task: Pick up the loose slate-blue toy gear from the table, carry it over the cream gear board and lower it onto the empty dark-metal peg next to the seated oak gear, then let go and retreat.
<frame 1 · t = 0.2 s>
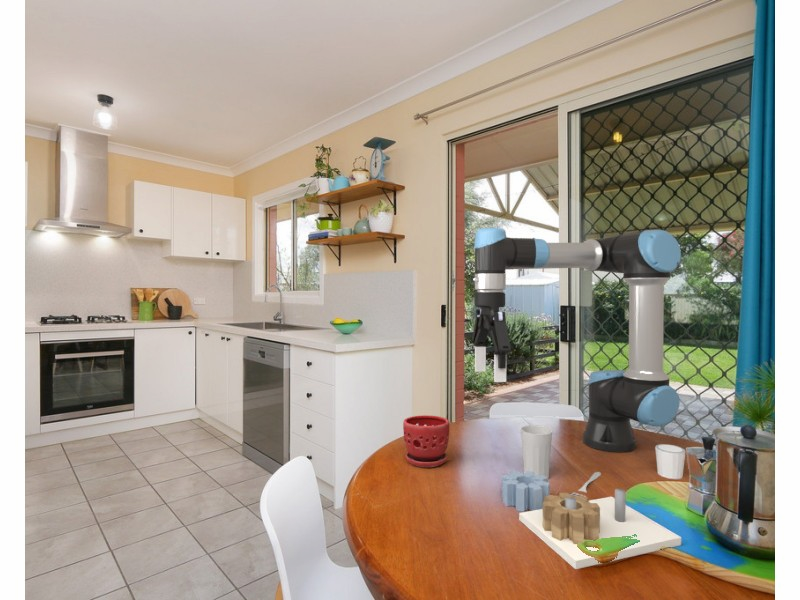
hand: (489, 376, 115), 27 cm above the table, fingers open, 13 cm apart
cup: (536, 475, 121), on the table
gear board: (595, 531, 93), on the table
plant pot: (426, 462, 131), on the table
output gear: (570, 529, 91), resting on gear board
short white tumbler: (670, 475, 120), on the table
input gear: (525, 501, 106), on the table
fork: (588, 486, 115), on the table
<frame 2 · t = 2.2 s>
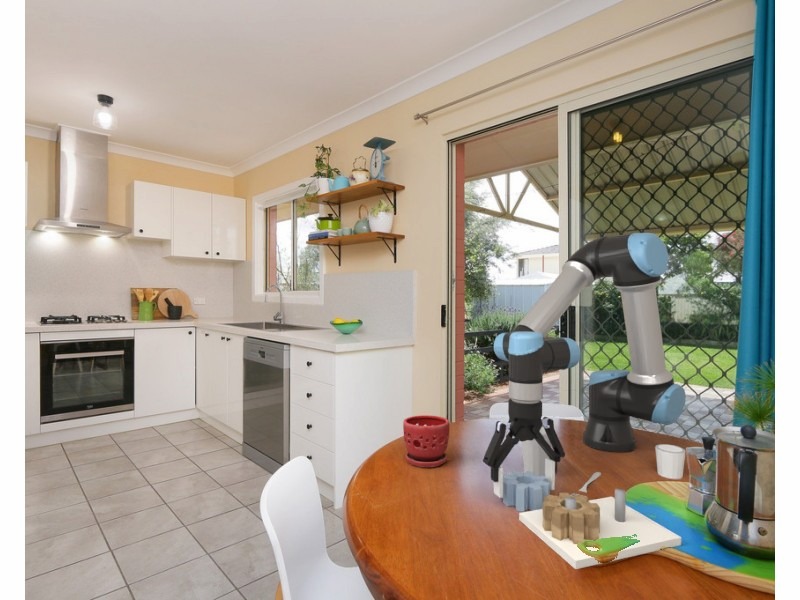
hand: (524, 491, 106), 2 cm above the table, fingers open, 13 cm apart
nothing on the table moved.
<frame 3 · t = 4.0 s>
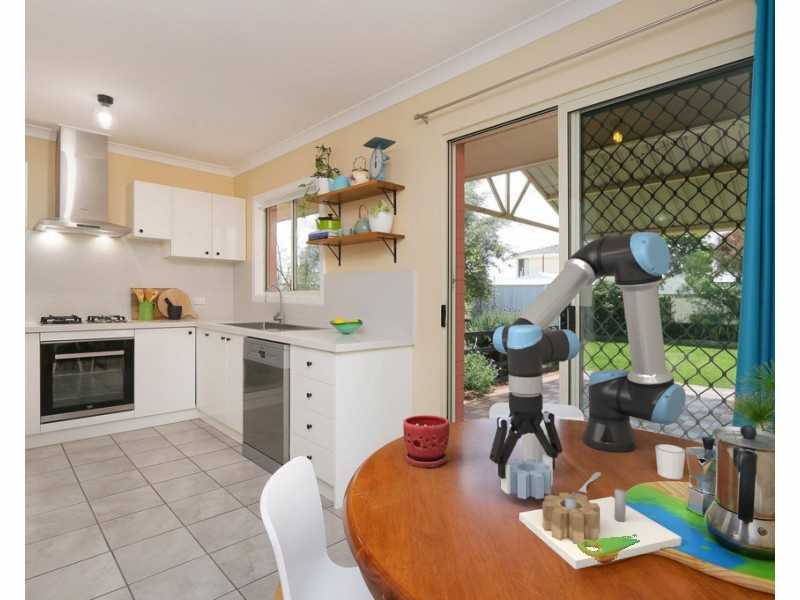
hand: (527, 487, 106), 3 cm above the table, fingers closed on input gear, 10 cm apart
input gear: (527, 488, 106), point 3 cm above the table, touching gripper
everything else where it was.
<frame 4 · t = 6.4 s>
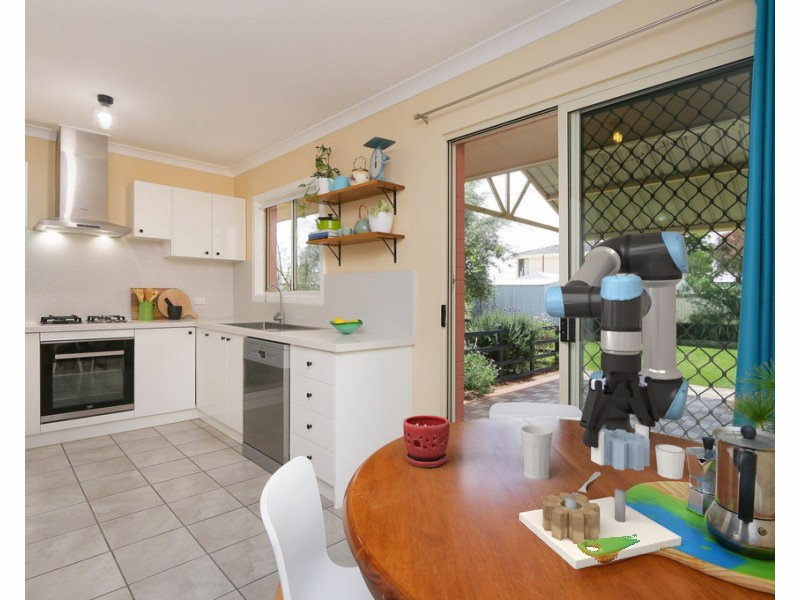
hand: (620, 459, 94), 14 cm above the table, fingers closed on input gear, 10 cm apart
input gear: (619, 460, 94), point 14 cm above the table, touching gripper
everything else where it was.
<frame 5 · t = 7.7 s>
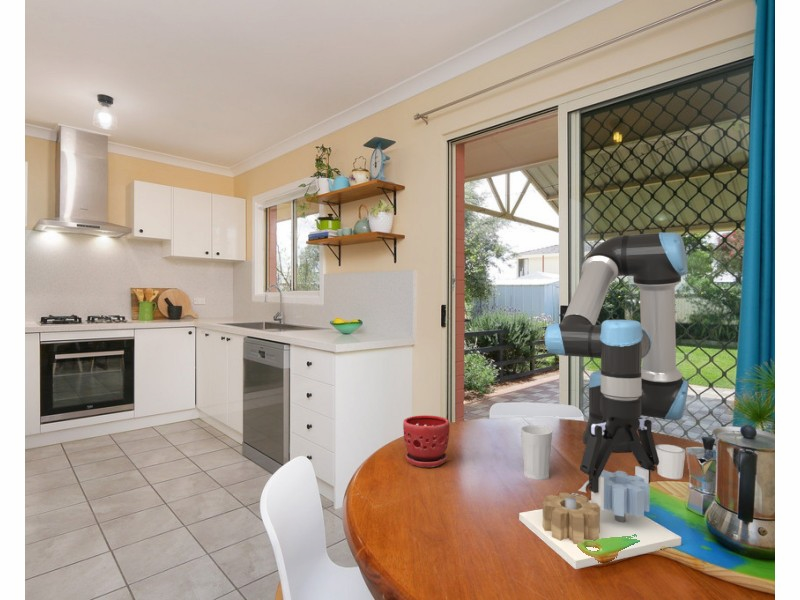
hand: (619, 503, 94), 5 cm above the table, fingers closed on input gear, 10 cm apart
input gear: (619, 504, 94), point 5 cm above the table, touching gripper
everything else where it was.
when the fingers open (2 cm above the table, at t = 8.8 s): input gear stays where it is, resting on gear board.
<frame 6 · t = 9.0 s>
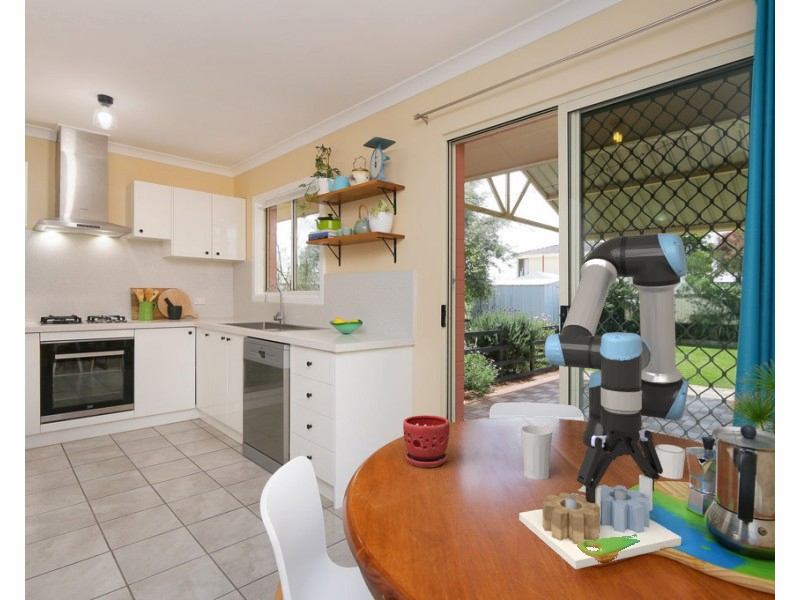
hand: (620, 512, 94), 3 cm above the table, fingers open, 12 cm apart
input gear: (620, 519, 94), point 1 cm above the table, touching gear board
everything else where it was.
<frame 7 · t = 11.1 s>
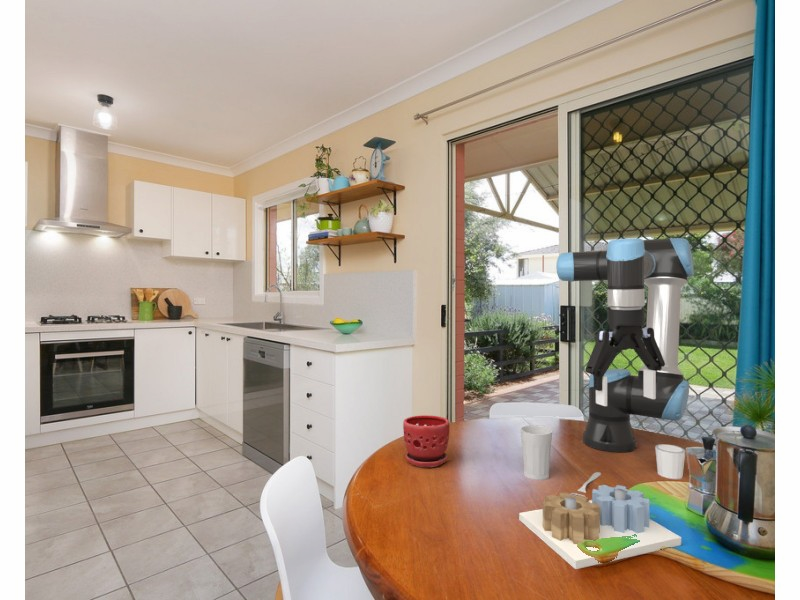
hand: (625, 401, 105), 23 cm above the table, fingers open, 13 cm apart
nothing on the table moved.
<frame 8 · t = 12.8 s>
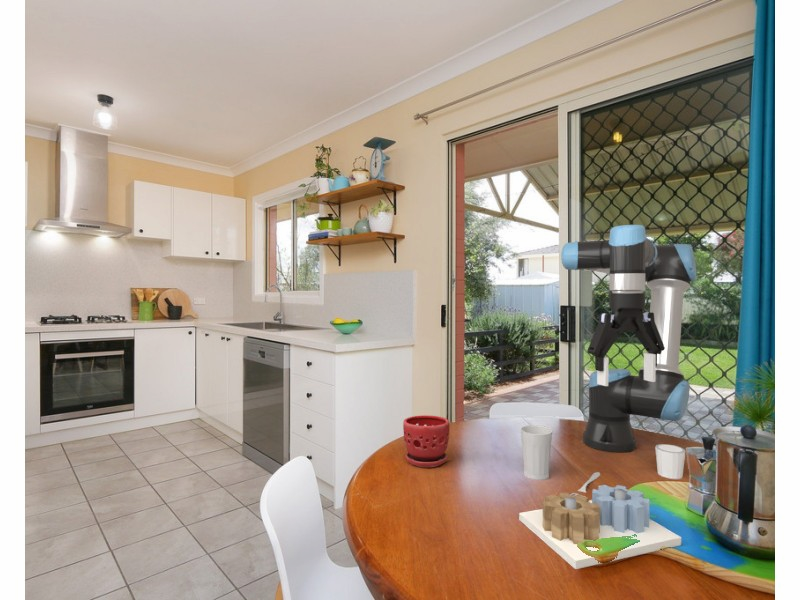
hand: (626, 383, 108), 27 cm above the table, fingers open, 13 cm apart
nothing on the table moved.
at the end: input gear 0.0 cm from the target spot on the gear board, point 1.5 cm above the gear board's base; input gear tilted 0°; the gripper is holding nothing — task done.
